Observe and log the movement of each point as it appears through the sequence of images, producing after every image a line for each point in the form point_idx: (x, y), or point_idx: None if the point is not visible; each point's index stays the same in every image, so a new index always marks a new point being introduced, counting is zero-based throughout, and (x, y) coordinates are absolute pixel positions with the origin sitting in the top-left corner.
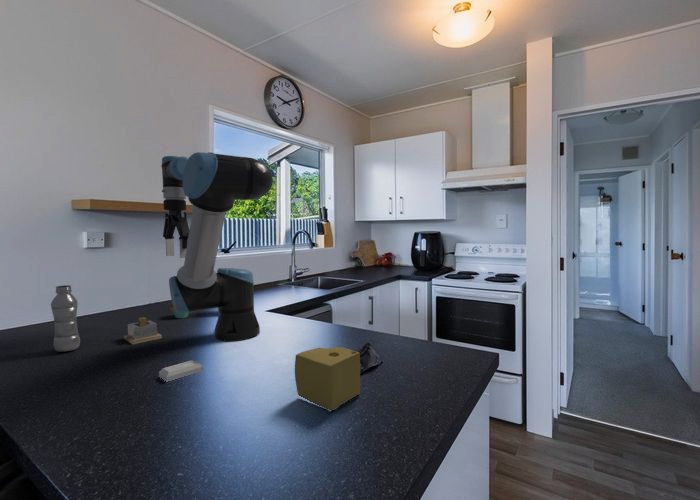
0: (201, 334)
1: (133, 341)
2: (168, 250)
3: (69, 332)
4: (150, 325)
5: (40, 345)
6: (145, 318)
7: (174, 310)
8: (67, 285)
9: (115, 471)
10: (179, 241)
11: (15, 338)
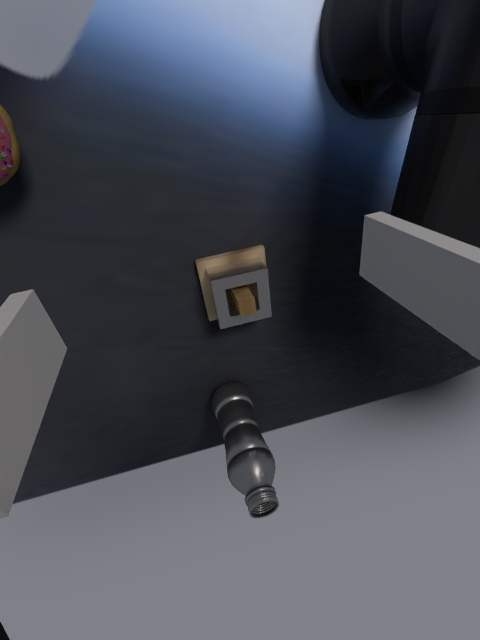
0: (300, 141)
1: None
2: (43, 371)
3: (253, 412)
4: (268, 282)
5: (160, 431)
6: (254, 300)
7: (9, 177)
8: (254, 507)
9: None
10: (470, 352)
11: (75, 477)
